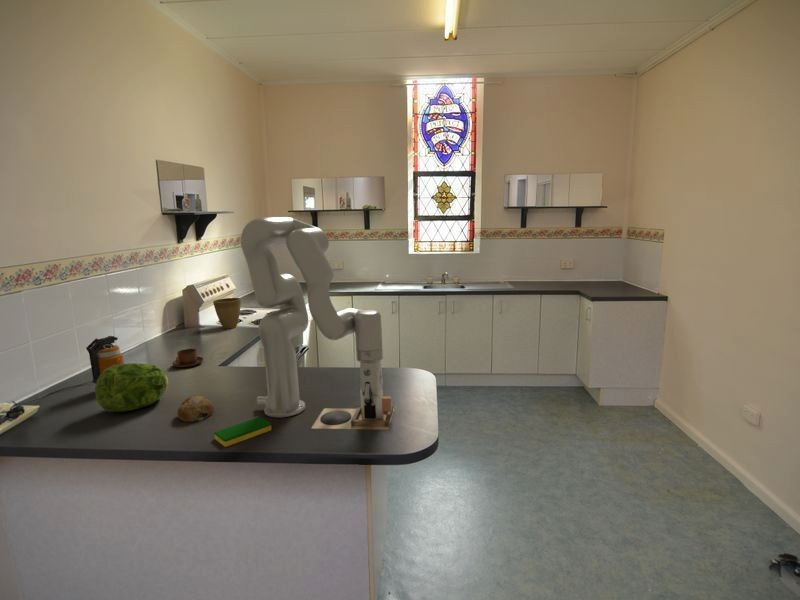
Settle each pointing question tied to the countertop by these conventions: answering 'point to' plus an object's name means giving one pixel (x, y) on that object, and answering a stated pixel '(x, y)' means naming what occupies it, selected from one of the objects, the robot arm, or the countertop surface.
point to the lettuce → (130, 386)
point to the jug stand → (350, 420)
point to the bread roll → (195, 409)
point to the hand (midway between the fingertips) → (372, 412)
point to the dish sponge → (242, 431)
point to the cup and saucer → (187, 358)
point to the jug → (378, 405)
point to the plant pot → (228, 311)
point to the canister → (103, 355)
